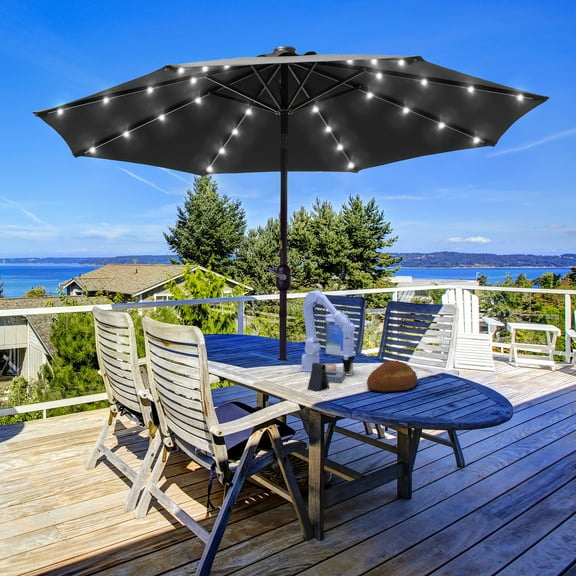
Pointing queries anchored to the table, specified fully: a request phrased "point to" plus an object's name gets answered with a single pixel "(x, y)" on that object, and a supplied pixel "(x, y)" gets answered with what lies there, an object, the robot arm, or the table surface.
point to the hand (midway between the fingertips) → (348, 370)
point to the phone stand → (318, 377)
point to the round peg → (330, 367)
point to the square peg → (350, 369)
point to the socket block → (335, 376)
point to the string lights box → (334, 336)
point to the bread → (392, 377)
